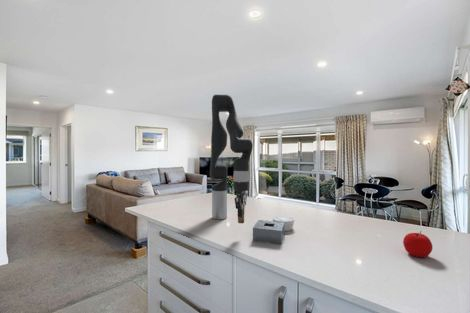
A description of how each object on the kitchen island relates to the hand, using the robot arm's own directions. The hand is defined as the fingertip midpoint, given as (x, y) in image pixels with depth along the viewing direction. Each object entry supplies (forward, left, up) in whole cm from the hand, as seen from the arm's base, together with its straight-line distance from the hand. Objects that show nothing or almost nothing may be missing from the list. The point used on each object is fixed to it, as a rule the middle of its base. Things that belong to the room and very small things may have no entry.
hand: (241, 215), depth 111 cm
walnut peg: (0, 0, -3) cm, 3 cm away
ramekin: (-20, +18, -11) cm, 29 cm away
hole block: (-4, +13, -10) cm, 17 cm away
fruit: (-3, +72, -11) cm, 73 cm away
